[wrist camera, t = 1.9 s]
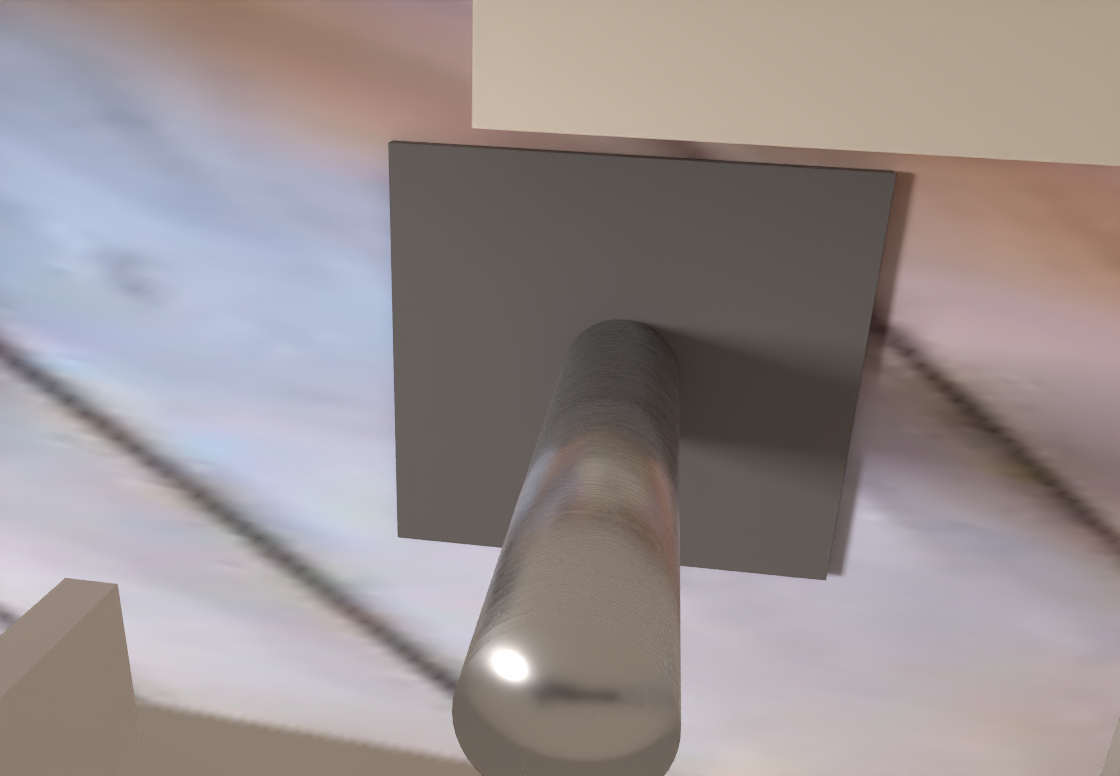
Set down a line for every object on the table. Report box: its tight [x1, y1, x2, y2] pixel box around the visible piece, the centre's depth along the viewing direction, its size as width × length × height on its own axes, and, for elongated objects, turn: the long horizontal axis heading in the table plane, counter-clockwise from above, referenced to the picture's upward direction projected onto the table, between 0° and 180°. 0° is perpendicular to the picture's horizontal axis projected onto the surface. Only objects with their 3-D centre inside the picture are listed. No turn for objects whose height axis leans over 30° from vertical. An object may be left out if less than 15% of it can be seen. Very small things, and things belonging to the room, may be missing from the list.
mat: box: [389, 141, 896, 580], centre depth 25 cm, size 12×11×1 cm
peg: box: [452, 319, 681, 776], centre depth 18 cm, size 3×3×13 cm
